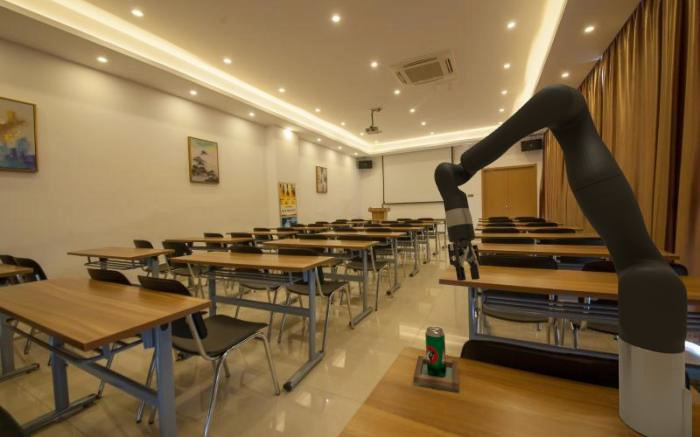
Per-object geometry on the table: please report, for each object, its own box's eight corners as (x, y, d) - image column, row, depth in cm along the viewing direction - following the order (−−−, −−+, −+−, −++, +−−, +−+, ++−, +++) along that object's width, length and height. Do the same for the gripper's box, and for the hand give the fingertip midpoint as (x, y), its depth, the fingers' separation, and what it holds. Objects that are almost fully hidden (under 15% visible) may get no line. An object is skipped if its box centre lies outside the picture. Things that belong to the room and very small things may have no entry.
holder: (458, 368, 82) (457, 360, 82) (458, 392, 71) (458, 383, 71) (418, 363, 85) (418, 355, 85) (413, 385, 75) (413, 376, 75)
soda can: (447, 378, 76) (445, 333, 75) (428, 377, 77) (425, 333, 76) (445, 368, 81) (443, 326, 80) (426, 367, 82) (424, 325, 81)
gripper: (459, 220, 80) (470, 280, 76) (482, 224, 89) (492, 278, 85) (435, 226, 85) (444, 282, 81) (459, 229, 94) (468, 280, 90)
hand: (469, 280), depth 83 cm, fingers open, 8 cm apart
